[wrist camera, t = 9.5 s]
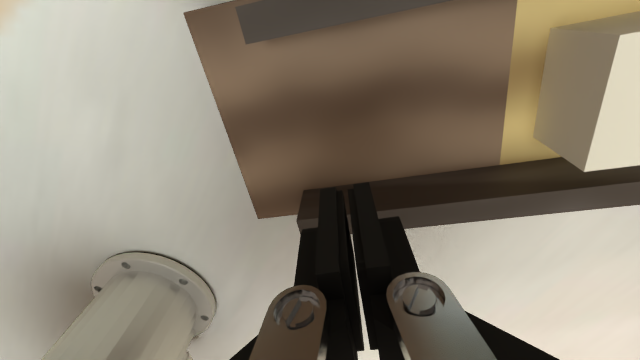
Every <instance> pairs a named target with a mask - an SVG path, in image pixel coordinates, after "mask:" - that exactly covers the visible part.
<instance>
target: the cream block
mask: <svg viewBox="0 0 640 360" xmlns="http://www.w3.org/2000/svg"><path fill="white" fill-rule="evenodd" d="M533 137H534V138H535V139H537V140H538V141H540V142H541V143H543V144H544V145H546V146H547V147H549V148H550V149H551V150H553V151H554V152H556V153H557V154H559V155H560V156H562V157H563V158H565V159H566V160H567V161H569V162H570V163H572V164H573V165H575V166H576V167H578V168H579V169H580V170H582V171H583V172H588V171H596V170H604V169H612V168H621V167H629V166H637V165H640V11H637V12H632V13H627V14H622V15H616V16H611V17H606V18H601V19H595V20H590V21H585V22H580V23H574V24H569V25H564V26H559V27H553V28H550V34H549V40H548V46H547V52H546V59H545V65H544V71H543V77H542V83H541V90H540V96H539V102H538V108H537V115H536V121H535V127H534V133H533Z"/></svg>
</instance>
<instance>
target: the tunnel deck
mask: <svg viewBox="0 0 640 360" xmlns="http://www.w3.org/2000/svg"><path fill="white" fill-rule="evenodd" d="M637 11H640V0H235V1H230V2H226V3H222V4H218V5H214V6H210V7H205V8H201V9H197V10H193V11H189V12H185V13H184V16H185V19H186V22H187V24H188V27H189V30H190V33H191V35H192V38H193V41H194V44H195V46H196V49H197V52H198V55H199V57H200V60H201V63H202V66H203V68H204V71H205V74H206V77H207V79H208V82H209V85H210V88H211V90H212V93H213V96H214V99H215V101H216V104H217V107H218V110H219V112H220V115H221V118H222V121H223V123H224V126H225V129H226V132H227V134H228V137H229V140H230V143H231V145H232V148H233V151H234V154H235V156H236V159H237V162H238V165H239V167H240V170H241V173H242V176H243V178H244V181H245V184H246V187H247V189H248V192H249V195H250V198H251V200H252V203H253V206H254V209H255V211H256V214H257V217H258V219H262V218H270V217H279V216H287V215H296V214H298V216H297V224H298V227H299V231H300V234H301V231H302V229H307V228H315V227H318V217H319V198H320V189H325V188H332V187H336V190H337V191H340V190H343V195H344V201H345V207H346V213H347V218H348V224H349V230H350V234H352V225H351V216H350V207H349V199H348V190H347V189H353V188H354V187H353V184H358V183H365V182H369V184H370V188H371V192H372V196H373V200H374V204H375V208H376V211H377V215H378V219H381V218H388V217H395V216H399V218H400V220H401V223H402V225H403V228H404V229H407V228H417V227H427V226H437V225H446V224H456V223H466V222H475V221H485V220H495V219H505V218H514V217H524V216H534V215H543V214H553V213H563V212H573V211H582V210H592V209H602V208H612V207H621V206H631V205H640V165H637V166H629V167H621V168H612V169H604V170H596V171H588V172H583V171H582V170H580V169H579V168H578V167H576V166H575V165H573V164H572V163H570V162H569V161H567V160H566V159H565V158H563V157H562V156H560V155H559V154H557V153H556V152H554V151H553V150H551V149H550V148H549V147H547V146H546V145H544V144H543V143H541V142H540V141H538V140H537V139H535V138H534V137H533V133H534V127H535V121H536V115H537V108H538V102H539V96H540V90H541V83H542V77H543V71H544V65H545V59H546V52H547V46H548V40H549V34H550V28H553V27H559V26H564V25H569V24H574V23H580V22H585V21H590V20H595V19H601V18H606V17H611V16H616V15H622V14H627V13H632V12H637Z"/></svg>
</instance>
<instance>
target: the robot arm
mask: <svg viewBox="0 0 640 360" xmlns="http://www.w3.org/2000/svg"><path fill="white" fill-rule="evenodd" d="M353 187H354V188H353V189H347V190H348V199H349V207H350V216H351V225H352V234H353V242H354V251H355V260H356V268H357V274H358V280H359V286H360V292H361V298H362V304H363V310H364V315H365V321H366V327H367V333H368V339H369V344H370V350H375V349H378V350H379V357H380V360H559V359H557V358H555V357H553V356H551V355H550V354H548V353H546V352H544V351H542V350H540V349H538V348H536V347H534V346H532V345H530V344H528V343H526V342H524V341H522V340H520V339H518V338H517V337H515V336H513V335H511V334H509V333H507V332H505V331H503V330H501V329H499V328H497V327H495V326H493V325H491V324H489V323H487V322H485V321H484V320H482V319H480V318H478V317H476V316H474V315H472V314H470V313H468V312H466V311H464V309H463V308H462V307H461V305H460V304H459V302H458V301H457V299H456V298H455V296H454V295H453V293H452V292H451V290H450V289H449V287H448V286H447V285H446V284H445V283H444V282H443V281H442V280H440V279H438V278H437V277H435V276H433V275H430V274H427V273H422V272H420V271H419V269H418V266H417V263H416V260H415V258H414V255H413V252H412V250H411V247H410V244H409V241H408V239H407V236H406V233H405V231H404V228H403V225H402V223H401V220H400V218H399V216H395V217H388V218H381V219H378V215H377V211H376V208H375V204H374V200H373V196H372V192H371V188H370V184H369V182H365V183H358V184H353ZM91 288H92V292H93V295H94V299H93V300H92V301H91V302H90V304H89V305H88V306H87V307H86V308H85V309H84V311H83V312H82V313H81V314H80V315H79V316H78V318H77V319H76V320H75V321H74V322H73V323H72V324H71V326H70V327H69V328H68V329H67V330H66V331H65V333H64V334H63V335H62V336H61V337H60V338H59V340H58V341H57V342H56V343H55V344H54V345H53V347H52V348H51V349H50V350H49V351H48V352H47V353H46V355H45V356H44V357H43V358H42V359H41V360H193V359H192V357H191V356H190V354H189V353H188V352H187V348H188V346H189V344H190V342H191V340H192V338H193V337H194V336H197V335H199V334H200V333H202V332H204V331H205V330H206V329H207V328H208V327H209V325H210V323H211V321H212V319H213V317H214V314H215V311H216V303H215V300H214V296H213V294H212V292H211V290H210V289H209V287H208V286H207V285H206V284H205V282H204V281H203V280H202V279H201V278H200V277H199V276H198V275H197V274H195V273H194V272H193V271H191V270H190V269H188V268H187V267H185V266H184V265H182V264H180V263H178V262H176V261H174V260H171V259H168V258H165V257H162V256H159V255H154V254H150V253H139V252H133V253H123V254H119V255H115V256H113V257H111V258H109V259H107V260H106V261H105V262H104V263H103V264H102V265H101V266H100V267H99V268H98V269H97V270H96V272H95V273H94V274H93V277H92V280H91ZM357 351H364V342H363V333H362V324H361V315H360V306H359V297H358V288H357V279H356V270H355V261H354V253H353V247H352V241H351V236H350V230H349V224H348V218H347V213H346V207H345V201H344V195H343V190H340V191H337V190H336V187H332V188H325V189H320V198H319V217H318V227H315V228H307V229H302V231H301V237H300V245H299V252H298V260H297V267H296V275H295V282H294V286H293V287H291V288H288V289H286V290H284V291H283V292H281V293H280V294H278V295H277V296H276V297H275V298H274V300H273V301H272V303H271V304H270V306H269V308H268V311H267V313H266V316H265V319H264V321H263V324H262V326H261V329H260V332H259V334H258V335H257V336H256V337H255V338H254V339H253V340H252V341H250V342H249V343H248V344H247V345H246V346H245V347H243V348H242V349H241V350H240V351H239V352H238V353H237V354H235V355H234V356H233V357H232V358H231V359H230V360H358V356H357Z"/></svg>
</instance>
